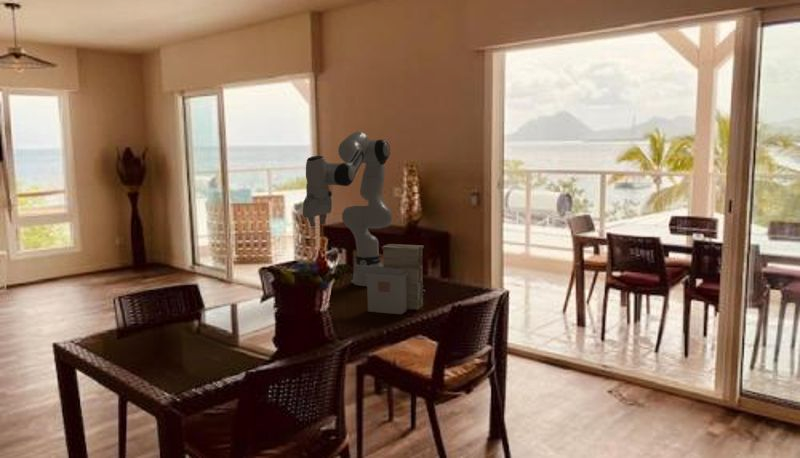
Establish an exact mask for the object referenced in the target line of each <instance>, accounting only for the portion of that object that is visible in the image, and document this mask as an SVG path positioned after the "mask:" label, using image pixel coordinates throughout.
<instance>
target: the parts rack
mask: <svg viewBox="0 0 800 458" xmlns="http://www.w3.org/2000/svg"><path fill="white" fill-rule="evenodd" d="M407 275H408V273H406V274H404V275H394V274H377V273H366V274H365V276H367V286H366V289H367V290H366V291H367V293H366V294H367V312H371V313H382V314H393V315H394V314H395V315H403V314H404V313H406V312H407V310H408V309H407V297H406V276H407Z"/></svg>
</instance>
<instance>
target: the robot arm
mask: <svg viewBox="0 0 800 458" xmlns="http://www.w3.org/2000/svg"><path fill="white" fill-rule="evenodd" d="M337 150H338V155H339V157H340V159H341V160H342V161H343V163H340V162H338V163H335V162H334V163H330V162H328V161H326V159H325V157H324V156H322V155H314V156H313V155H312V156H310V157H308V158H307V159H306V163H305V179H306V186H305V187H306V188H305V189H306V196H305V198H304V200H303V202H302V216H303V218H308V219H307V220H308V222H309V225H310V226H309V227H310V228H315V227H316V222H315V217H318V216H321V218H320V220H319V221H320V222H319V223H320V225H326V218H327V217H328V216H327V214H331V212H332V205H333V203H332V197H333V193H332V191H331V190H329V189H328V186H343V187H349V186H350V185H351V184H352V183H353V182H354V179H355V177H356V174H357V173H358V170H359V169H360V167H361V165H362V164H365V167H364V170H363V172H362V176H361V177H362V178H361V184H360V189H359V193H360V196H361V197H362V199H364V200H365V201H367V202H368V204H367V205H352V206H346V207H345V208H344V209H343V212H342V214H341V220H342V223H343V224H344V225H345V227H347V228H348V229H349V230H350V232H351V234H353V237H354V241H355V246H356V256H355V265H368V266H384V265H383V263H382V262H381V259H382V257H383V254H380V253H379V252H380V251H379V250H380V249H379V248H380V245H379V244H380V243H379V240H378V238H377V237H376V236H375V235H373V234H371V232H370V231H369V229H384V228H388V227H389V226H390V225H391V224H392V221H393V213H392V210H391V209H390V208H389V207H388V206H386V204H385V202H384V200H383V190H384V184H385V183H384V182H385V163H386V162H387V160H388V159H389V157H390V155H391V148H390V145H389V142H387V140H384V139H369V136H368V135H367V134H366V133H364V131H363V132H362V131H355V132H354V133H353V132H352V133H351V134H349V135H348V136H346V137H345V139H344V140H342V141H341V143H340V144H339V146H338V149H337ZM365 274H366V273H361V272H354V271H353V274H352V275H353V276H352V278H353V279H351V281H350V283H352V284H354V285H356V286H360V287H361V286H362V287H367V276H365Z"/></svg>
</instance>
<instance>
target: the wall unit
mask: <svg viewBox="0 0 800 458" xmlns="http://www.w3.org/2000/svg"><path fill="white" fill-rule="evenodd" d="M424 247H425V246H424V245H421V244H420V245H418V244H396V243H388V244H387V243H386V244H385V245H383V246H381V250H382V251H383V253H382V257H383V260H382V261H383V262H382V265H383V266H386V267H389V266H399V267H403V268H406V273H408V275H407V276H406V297H407V310H414V309H415V311H417V310H420V309H421V308H422V307H423V306H424V297H423V294H424V293H423V290H424V288H423V286H424V281H423V279H424V278H423V276H424V275H423V273H424V272H423V249H424Z"/></svg>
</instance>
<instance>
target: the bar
mask: <svg viewBox="0 0 800 458" xmlns="http://www.w3.org/2000/svg"><path fill="white" fill-rule="evenodd" d="M354 272H361V273H377V274H394V275H404V274H406V268H403V267H399V266H389V267H386V266H384V265H383V266H368V265H356V264H355V265H353V273H354Z"/></svg>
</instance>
